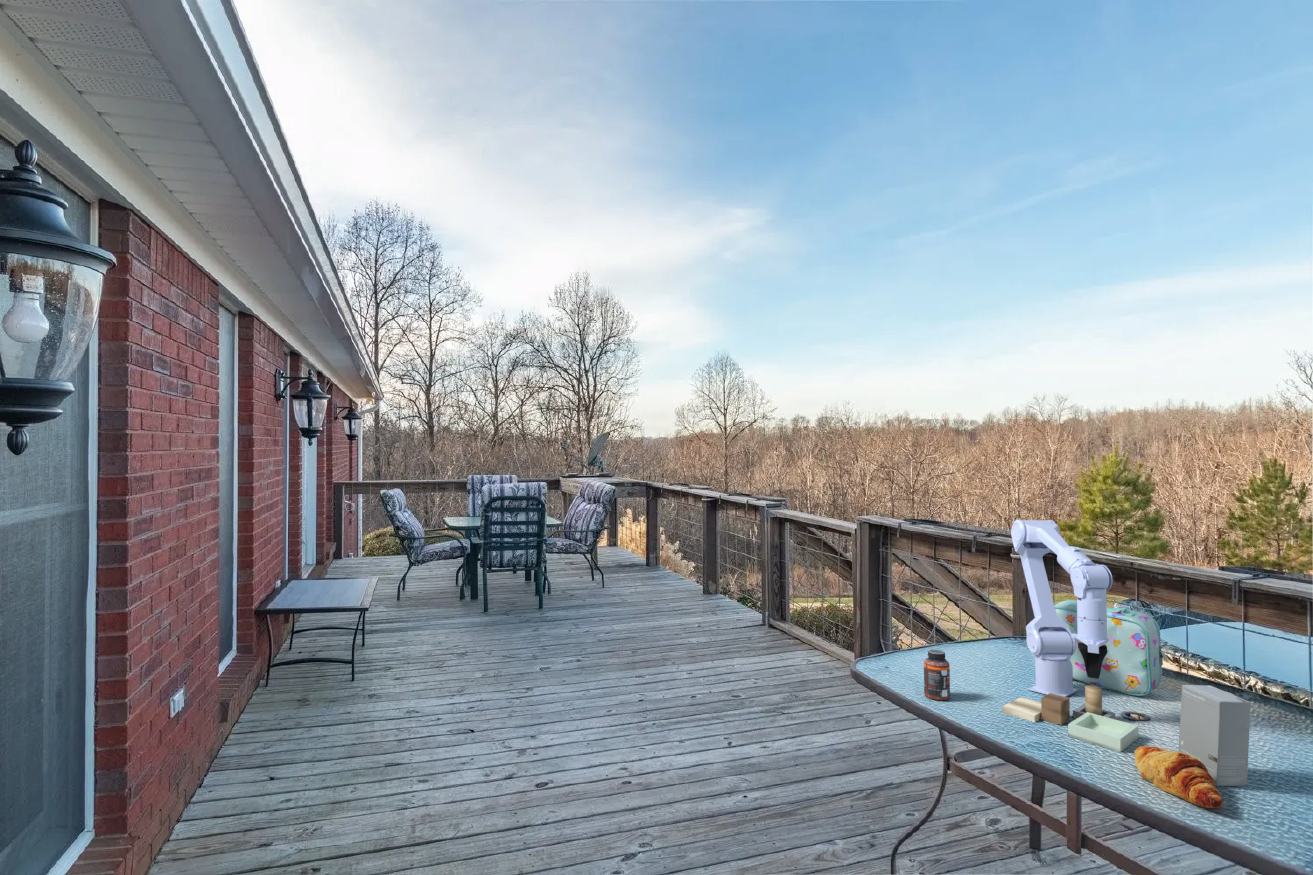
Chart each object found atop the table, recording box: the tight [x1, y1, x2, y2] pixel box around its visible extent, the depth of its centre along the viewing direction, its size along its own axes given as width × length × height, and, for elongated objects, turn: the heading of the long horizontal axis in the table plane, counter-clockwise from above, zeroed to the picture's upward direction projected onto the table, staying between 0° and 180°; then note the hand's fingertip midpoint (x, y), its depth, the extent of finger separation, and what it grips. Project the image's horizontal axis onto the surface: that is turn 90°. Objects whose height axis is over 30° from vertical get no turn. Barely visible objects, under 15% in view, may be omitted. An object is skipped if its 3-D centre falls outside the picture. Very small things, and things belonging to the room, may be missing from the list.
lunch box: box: [1053, 599, 1168, 697], centre depth 171 cm, size 27×10×21 cm, turn 34°
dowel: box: [1084, 684, 1103, 716], centre depth 148 cm, size 3×3×7 cm
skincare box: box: [1177, 684, 1252, 787], centre depth 122 cm, size 8×7×16 cm
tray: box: [1067, 712, 1139, 753], centre depth 138 cm, size 11×10×3 cm
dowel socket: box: [1072, 704, 1116, 720], centre depth 148 cm, size 6×6×2 cm
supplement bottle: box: [923, 649, 951, 702], centre depth 162 cm, size 6×6×11 cm
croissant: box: [1133, 745, 1224, 809], centre depth 118 cm, size 21×10×8 cm, turn 175°
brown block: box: [1040, 693, 1071, 726], centre depth 147 cm, size 5×4×5 cm
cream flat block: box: [1002, 696, 1042, 723], centre depth 152 cm, size 10×7×2 cm
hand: (1093, 677), depth 149 cm, fingers closed
